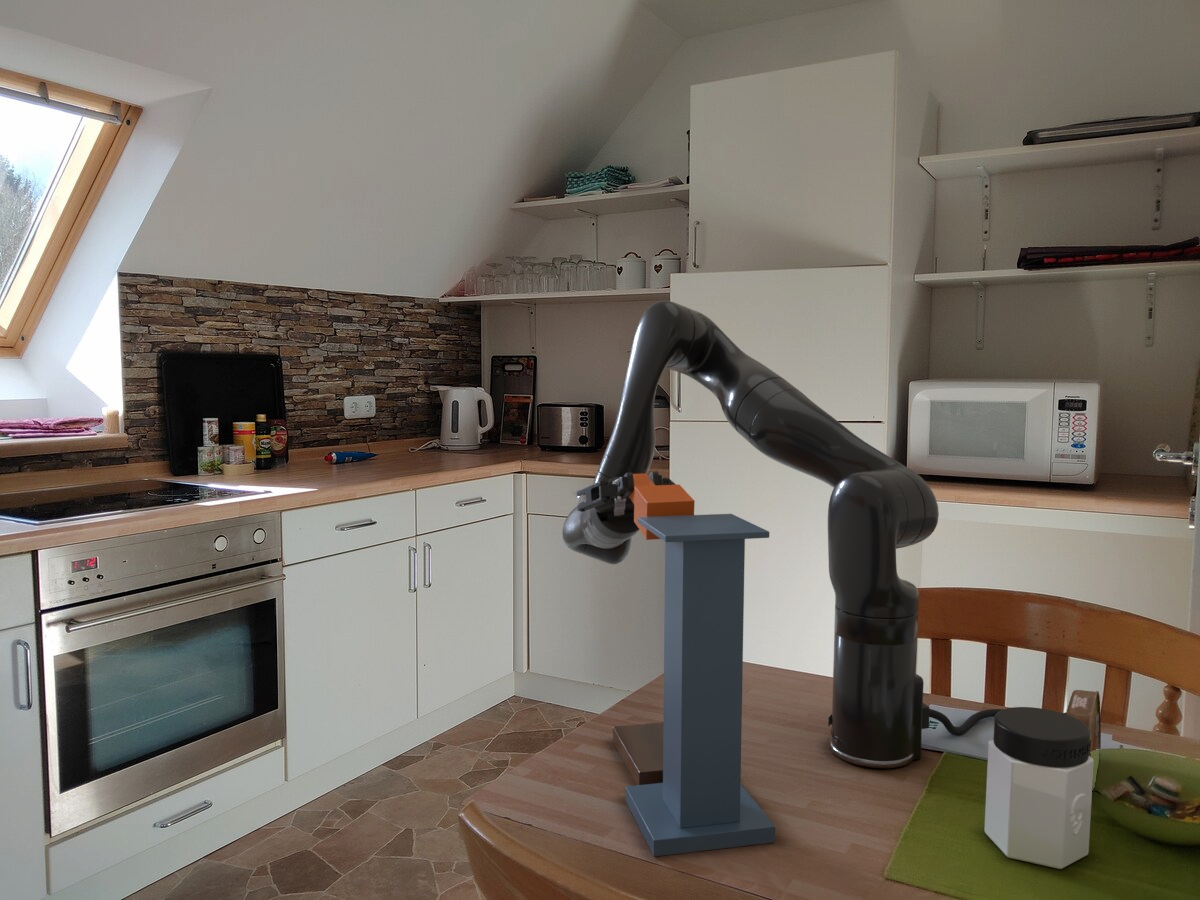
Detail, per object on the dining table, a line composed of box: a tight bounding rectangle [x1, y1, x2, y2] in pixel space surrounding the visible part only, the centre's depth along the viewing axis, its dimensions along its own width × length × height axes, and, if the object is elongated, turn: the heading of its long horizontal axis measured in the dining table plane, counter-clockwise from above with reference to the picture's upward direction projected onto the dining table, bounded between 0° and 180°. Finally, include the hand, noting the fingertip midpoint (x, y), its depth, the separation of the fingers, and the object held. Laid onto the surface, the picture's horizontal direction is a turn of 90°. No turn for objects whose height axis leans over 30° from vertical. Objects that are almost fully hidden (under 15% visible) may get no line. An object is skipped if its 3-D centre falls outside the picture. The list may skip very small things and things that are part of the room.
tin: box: [1065, 689, 1102, 756], centre depth 102 cm, size 15×3×8 cm, turn 148°
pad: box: [612, 721, 664, 786], centre depth 105 cm, size 9×12×2 cm
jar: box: [983, 706, 1094, 870], centre depth 87 cm, size 9×8×12 cm
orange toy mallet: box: [629, 473, 695, 541], centre depth 102 cm, size 5×16×4 cm, turn 10°
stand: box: [625, 513, 776, 857], centre depth 90 cm, size 12×11×30 cm
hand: (643, 480), depth 106 cm, fingers closed on orange toy mallet, 2 cm apart
